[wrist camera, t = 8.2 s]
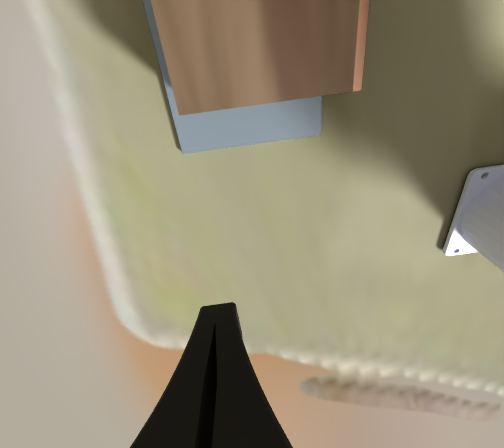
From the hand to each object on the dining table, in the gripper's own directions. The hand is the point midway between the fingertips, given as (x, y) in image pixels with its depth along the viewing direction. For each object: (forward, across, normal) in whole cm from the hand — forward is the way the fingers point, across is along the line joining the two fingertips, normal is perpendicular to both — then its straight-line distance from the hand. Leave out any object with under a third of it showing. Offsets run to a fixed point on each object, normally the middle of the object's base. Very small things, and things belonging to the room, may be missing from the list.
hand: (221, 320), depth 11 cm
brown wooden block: (+8, -8, -10) cm, 15 cm away
